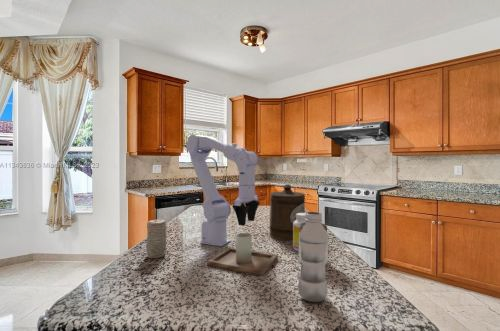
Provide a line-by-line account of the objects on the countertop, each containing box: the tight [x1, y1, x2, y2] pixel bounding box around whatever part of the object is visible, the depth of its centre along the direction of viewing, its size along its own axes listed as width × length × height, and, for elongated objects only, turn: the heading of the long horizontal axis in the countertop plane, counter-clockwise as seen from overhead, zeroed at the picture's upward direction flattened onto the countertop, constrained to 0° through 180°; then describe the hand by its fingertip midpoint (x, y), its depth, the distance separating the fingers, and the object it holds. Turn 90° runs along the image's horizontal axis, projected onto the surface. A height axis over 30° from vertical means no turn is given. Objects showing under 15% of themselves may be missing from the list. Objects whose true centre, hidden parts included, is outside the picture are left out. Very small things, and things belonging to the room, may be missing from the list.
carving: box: [145, 218, 168, 260], centre depth 88 cm, size 6×8×12 cm
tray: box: [206, 246, 279, 278], centre depth 83 cm, size 18×14×2 cm
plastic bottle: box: [297, 211, 329, 303], centre depth 61 cm, size 6×7×20 cm
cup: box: [235, 232, 253, 264], centre depth 83 cm, size 5×5×8 cm
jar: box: [298, 222, 329, 266], centre depth 83 cm, size 9×8×12 cm
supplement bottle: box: [292, 212, 306, 252], centre depth 96 cm, size 7×7×13 cm
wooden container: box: [269, 184, 306, 241], centre depth 113 cm, size 15×15×22 cm
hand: (246, 223), depth 94 cm, fingers open, 7 cm apart
